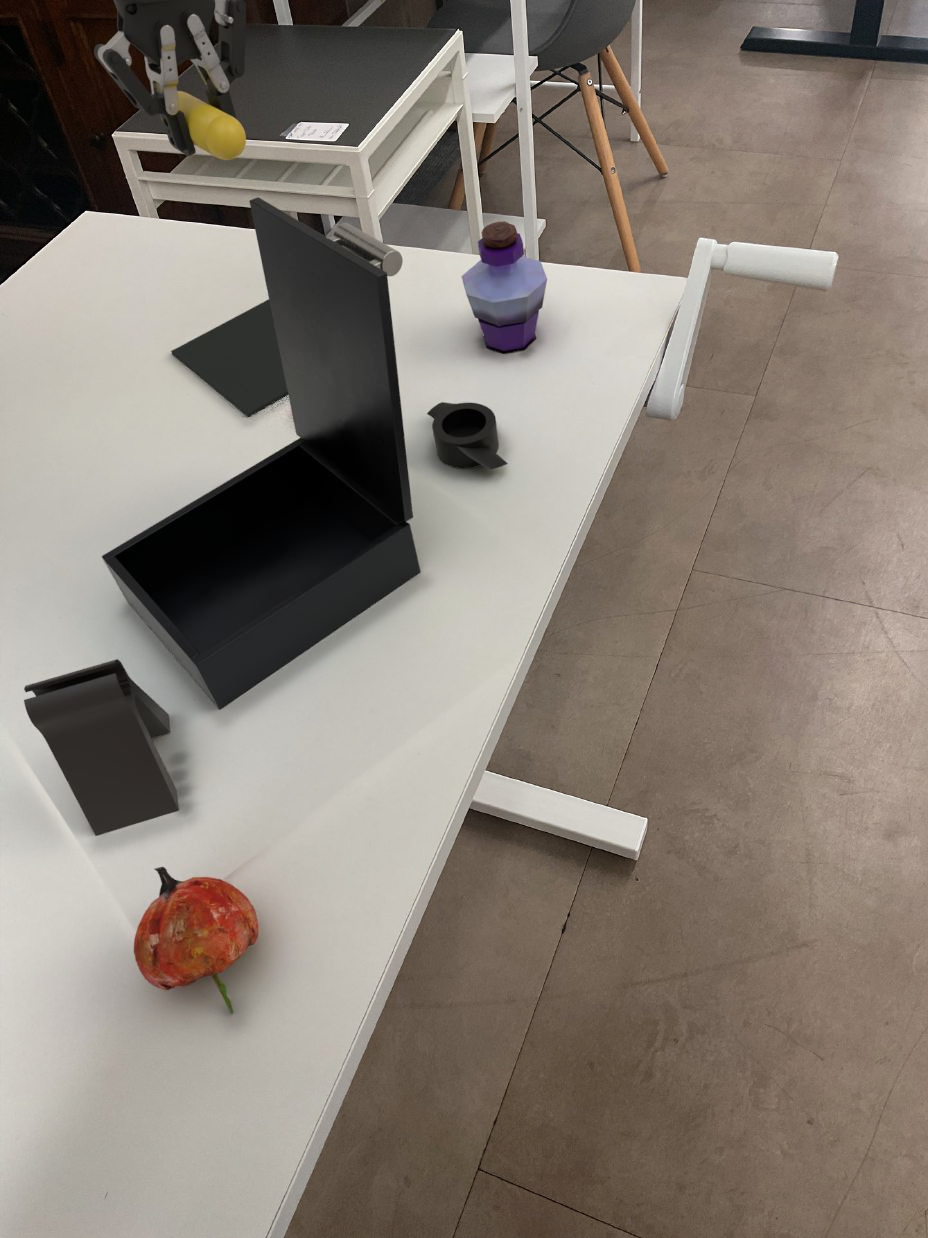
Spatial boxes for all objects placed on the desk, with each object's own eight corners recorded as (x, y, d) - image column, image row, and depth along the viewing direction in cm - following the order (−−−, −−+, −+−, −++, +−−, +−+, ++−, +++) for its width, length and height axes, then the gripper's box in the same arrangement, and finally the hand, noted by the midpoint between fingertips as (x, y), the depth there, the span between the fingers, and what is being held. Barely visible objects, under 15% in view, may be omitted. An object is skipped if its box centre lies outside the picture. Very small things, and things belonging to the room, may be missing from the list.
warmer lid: (377, 276, 63) (443, 248, 66) (248, 200, 72) (311, 177, 74) (405, 522, 78) (459, 492, 80) (296, 434, 87) (347, 409, 89)
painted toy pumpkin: (295, 975, 65) (240, 830, 66) (273, 1014, 58) (212, 851, 58) (187, 1017, 65) (133, 872, 66) (152, 1062, 58) (92, 898, 58)
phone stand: (182, 817, 71) (118, 722, 62) (99, 842, 71) (22, 750, 62) (172, 718, 77) (112, 618, 68) (95, 741, 77) (24, 643, 68)
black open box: (222, 715, 77) (196, 666, 72) (130, 606, 85) (100, 555, 81) (422, 578, 84) (410, 524, 79) (317, 490, 92) (301, 436, 87)
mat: (248, 417, 100) (247, 414, 100) (172, 354, 109) (170, 350, 109) (375, 344, 106) (375, 340, 106) (293, 289, 115) (292, 286, 114)
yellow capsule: (223, 171, 87) (211, 129, 84) (160, 134, 94) (147, 94, 91) (258, 155, 88) (247, 113, 86) (193, 120, 95) (181, 80, 92)
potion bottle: (558, 314, 105) (552, 205, 96) (542, 365, 100) (534, 254, 91) (479, 311, 107) (465, 204, 98) (459, 360, 102) (443, 252, 93)
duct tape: (509, 409, 96) (506, 385, 94) (509, 481, 90) (506, 456, 88) (429, 416, 97) (424, 391, 95) (423, 487, 91) (418, 462, 88)
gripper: (192, -114, 82) (251, 103, 95) (34, -59, 77) (119, 162, 90) (239, -101, 78) (294, 124, 91) (76, -41, 73) (158, 187, 86)
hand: (207, 142), depth 91 cm, fingers closed on yellow capsule, 3 cm apart
